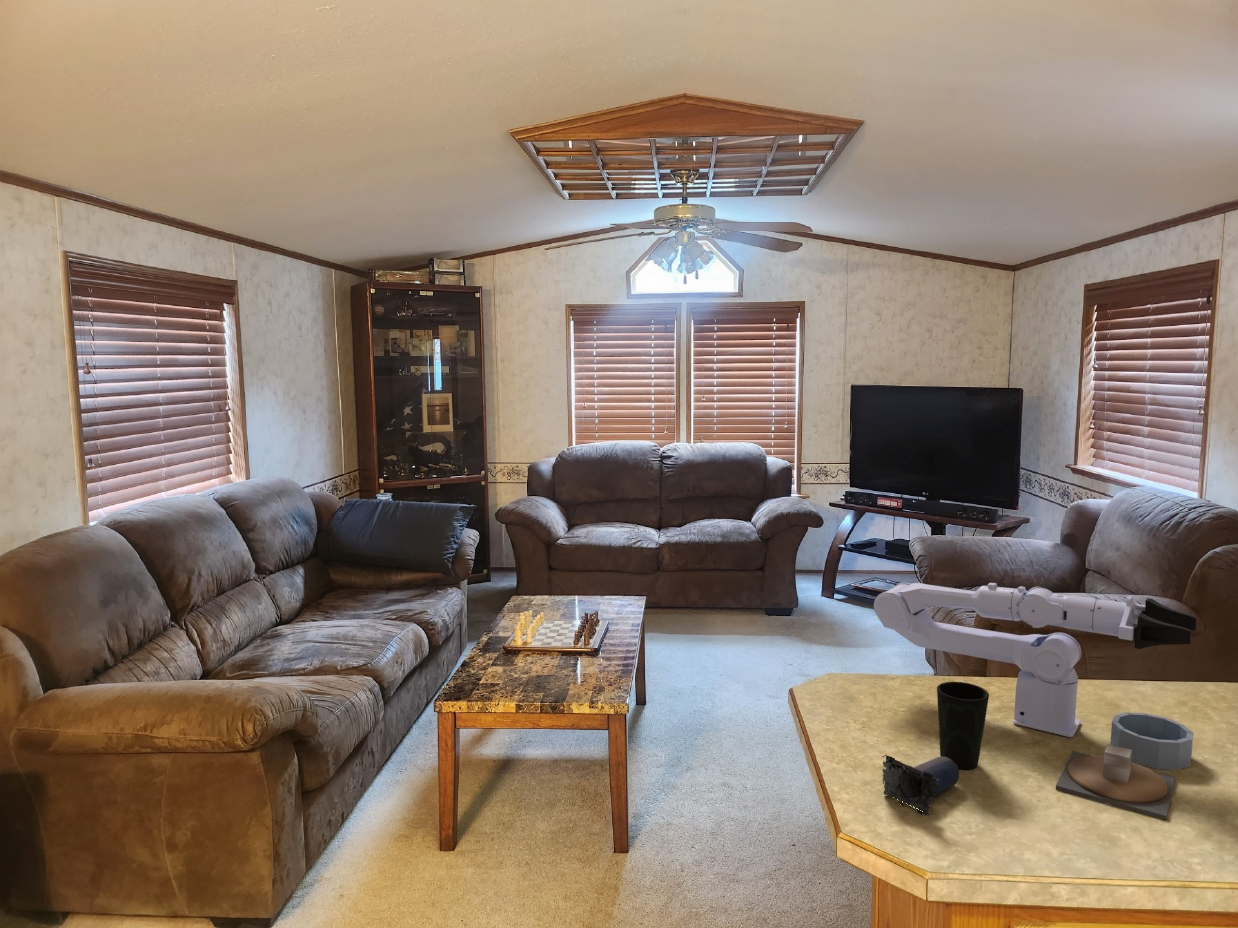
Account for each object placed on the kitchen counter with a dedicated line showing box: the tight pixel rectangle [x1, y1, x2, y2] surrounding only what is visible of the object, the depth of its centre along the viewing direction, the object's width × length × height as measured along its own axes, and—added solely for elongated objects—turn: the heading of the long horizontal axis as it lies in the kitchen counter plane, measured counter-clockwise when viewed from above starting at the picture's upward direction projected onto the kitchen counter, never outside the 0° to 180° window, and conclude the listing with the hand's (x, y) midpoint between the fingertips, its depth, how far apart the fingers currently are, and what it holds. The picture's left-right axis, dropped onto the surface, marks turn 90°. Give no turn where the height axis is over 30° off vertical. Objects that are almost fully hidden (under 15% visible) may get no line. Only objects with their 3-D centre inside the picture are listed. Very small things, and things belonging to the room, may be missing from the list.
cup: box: [936, 681, 990, 772], centre depth 134 cm, size 8×8×12 cm
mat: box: [1055, 750, 1176, 821], centre depth 128 cm, size 14×14×1 cm
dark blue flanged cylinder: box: [881, 754, 960, 816], centre depth 125 cm, size 9×8×12 cm
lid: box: [1068, 743, 1167, 803], centre depth 127 cm, size 13×13×5 cm
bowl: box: [1109, 711, 1194, 771], centre depth 137 cm, size 11×11×4 cm
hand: (1193, 630), depth 133 cm, fingers open, 7 cm apart
